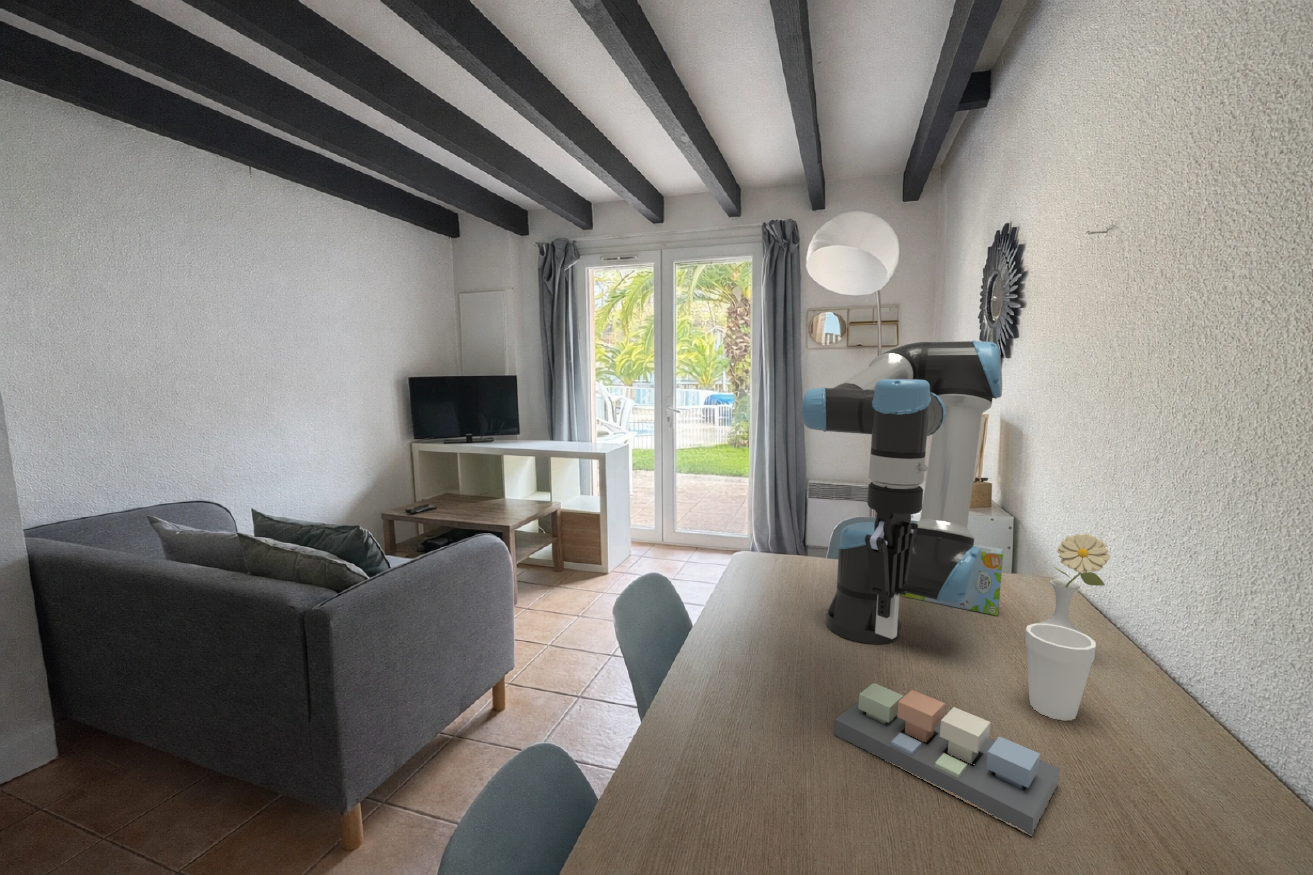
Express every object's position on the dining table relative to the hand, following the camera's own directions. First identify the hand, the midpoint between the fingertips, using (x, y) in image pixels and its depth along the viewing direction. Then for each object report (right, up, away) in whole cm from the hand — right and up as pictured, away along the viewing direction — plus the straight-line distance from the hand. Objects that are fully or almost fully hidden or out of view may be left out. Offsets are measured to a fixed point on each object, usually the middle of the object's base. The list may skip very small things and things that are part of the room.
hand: (885, 634), depth 87 cm
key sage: (0, -15, +1) cm, 15 cm away
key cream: (+8, -14, -7) cm, 18 cm away
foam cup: (+31, -15, +8) cm, 35 cm away
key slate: (+12, -16, -12) cm, 23 cm away
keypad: (+6, -16, -5) cm, 18 cm away
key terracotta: (+4, -14, -3) cm, 14 cm away
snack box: (+37, -11, +52) cm, 65 cm away
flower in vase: (+48, -13, +29) cm, 57 cm away
